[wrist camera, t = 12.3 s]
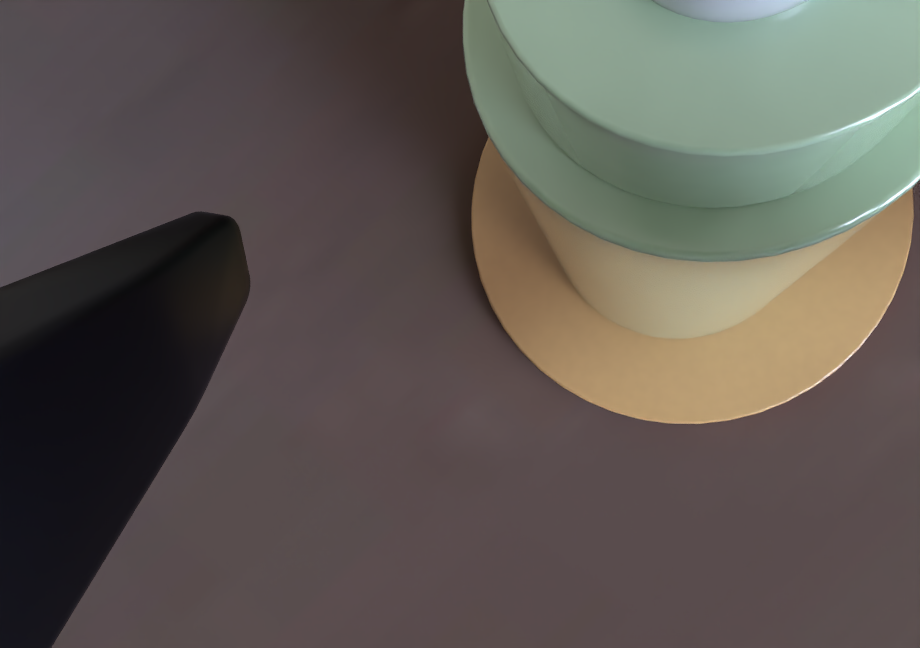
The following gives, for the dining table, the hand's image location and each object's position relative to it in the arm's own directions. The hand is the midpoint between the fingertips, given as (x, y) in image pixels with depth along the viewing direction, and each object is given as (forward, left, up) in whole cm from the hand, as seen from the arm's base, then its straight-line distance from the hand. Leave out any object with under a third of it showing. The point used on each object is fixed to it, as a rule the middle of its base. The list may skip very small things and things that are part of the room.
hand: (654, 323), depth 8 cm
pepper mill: (+2, -2, -9) cm, 10 cm away
